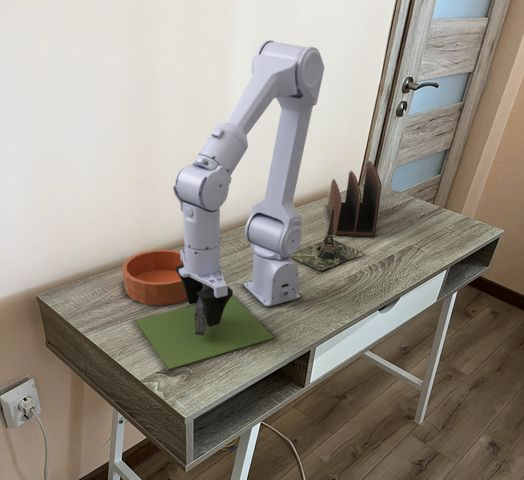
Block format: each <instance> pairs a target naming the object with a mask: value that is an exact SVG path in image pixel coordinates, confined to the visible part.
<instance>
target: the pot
mask: <svg viewBox="0 0 524 480" xmlns="http://www.w3.org/2000/svg"><path fill="white" fill-rule="evenodd" d="M182 264H183V262H182V261H181V257H180V250H173V249H151V250H146V251H142V252H139V253H136V254H134V255H132V256H131V257H129V258H128V259H126V260H125V261H124V263H123V265H122V276H123V284H124V290H125V293H126V294H127V296H128V297H129V298H131V299H132V300H133V301H136V302H138V303H140V304H145V305H151V306H168V305H169V306H170V305H174V304H179V303H182V302H184V301H186V300H187V296H186V293H185V289H184V286H183V283H182V281H181V279H180V277H179V275H178V273H177V272H176V270H175V267H176V266H179V265H182Z"/></svg>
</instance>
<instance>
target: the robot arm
mask: <svg viewBox="0 0 524 480" xmlns="http://www.w3.org/2000/svg"><path fill="white" fill-rule="evenodd" d="M324 72H325V64H324V60H323V58H322V56H321V52H320V50H319V49H318V48H316V47H315V46H302V45H295V44H291V43H290V44H289V43H283V42H276V41H274V40H270V39H267V40H265V41H263V42H262V43H261V44H260V45H259V47H258V49H257V51H256V54H255V55H254V56H253V57H252V58H251V77H250V78H249V81H248V83H247V85H246V87H245V88H244V90H243V92H242V94H241V96H240V98H239V99H238V102H237V104H236V106H235V108H234V109H233V111H232V113H231V115H230V118H228V121H226V122H223V123H217V125H216V126H215V127H214V128H213V129H212V131H211V132H210V135H209V137H208V138H207V139H206V141H205V143H204V145H203V146H202V148H201V149H200V151H199V152H198V154H197V156H196V158H195V159H194V160H193V162H192V163H191V164H188V165H187V166H186V165H185V166H184V167H182V168H181V169H180V170H179V171H178V173H177V175H176V177H175V183H174V185H173V186H172V190H173V193H174V196H175V198H176V199H177V200H178V202H179V209H180V210H181V212H182V218H183V219H182V220H183V243H184V249H180V250H179V252H180V257H181V261H182V262H183V264H182V265H179V266H176V267H175V270H176V272H177V273H178V275H179V277H180V279H181V281H182V283H183V286H184V289H185V293H186V296H187V299H186V300H187V302H188V304H189V306H192V305H196V304H197V301H198V299H199V297H200V299H201V301H202V304H203V307H204V311H205V318H206V322H207V325H208V326H209V327H211V326H214V325H218V324H219V323H220V320H221V317H222V314H223V311H224V308H225V306H226V304H227V302H228V301H229V299H230V298H231V297H232V296H233V294H234V290H233V289H232V288H231V287H230V286H228V284H227V282H226V281H225V277H224V274H223V269H222V266H221V248H220V247H221V238H220V237H221V235H220V234H221V211H220V210H221V207H222V206H223V204H224V203H225V202H227V198H228V195H229V190H230V184H231V183H232V177H231V176H232V174H233V173H234V171H235V169H236V168H237V167H238V165H239V163H240V161H241V160H242V158H243V156H244V155H245V153H246V151H247V150H248V148H249V141H248V134H249V133H250V132H251V130H252V129H253V128H254V127H255V125H256V123H257V122H258V121H259V119H260V118H261V117H262V115H263V114H264V113H265V111H266V110H267V109H268V107H269V106H270V105H271V104H272V102H273V101H274V99H276V100H277V103H278V104H279V106H280V109H281V110H280V114H279V120H278V124H277V130H276V135H275V139H274V140H275V141H274V146H273V152H272V157H271V163H270V168H269V173H268V177H267V183H266V187H265V188H266V189H265V195H264V199H261V200H260V201H258V202H256V203H255V204H253V205H252V207H251V211H250V215H249V218H248V219H247V221H246V223H245V227H244V235H245V239H246V241H247V242H248V243H250V249H251V250H253V254H252V255H253V256H252V280H251V281H249V282H244V283H243V286H244V287H245V289H247V291H249V292H250V293H251V294H252V295H253V296H254V297H255V298H256V299H257V300H258V301H259V302H260V303H261V304H262V305H264V306H265V307H266V308H267V307H272V306H276V305H279V304H283V303H286V302H290V301H294V300H297V299H300V298H301V297H300V294H298V293H297V292H298V282H299V269H298V267H297V264H295V262H294V261H293V258H292V257H291V255H292V254H293V253H295V252H297V250H298V249H299V247H300V245H301V242H302V224H303V216H302V215H301V213H300V212H299V211H298V209H297V208H296V207H295V205H294V203H293V201H294V197H295V193H296V188H297V184H298V178H299V174H300V169H301V165H302V159H303V154H304V150H305V146H306V141H307V137H308V131H309V128H310V127H309V126H310V122H311V117H312V112H313V108H314V107H315V106H316V105H317V103H318V99H319V95H320V91H321V86H322V81H323V77H324ZM204 284H205V285H207V286H209V290H208V289H207V290H203V291H201V290H202V287H203V285H204Z"/></svg>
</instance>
